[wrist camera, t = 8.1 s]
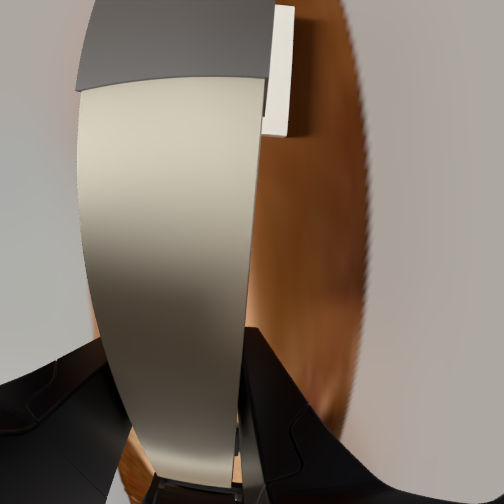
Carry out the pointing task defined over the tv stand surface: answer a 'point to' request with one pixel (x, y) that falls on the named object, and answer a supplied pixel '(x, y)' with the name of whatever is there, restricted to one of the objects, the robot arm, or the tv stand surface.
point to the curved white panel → (173, 213)
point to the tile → (279, 74)
